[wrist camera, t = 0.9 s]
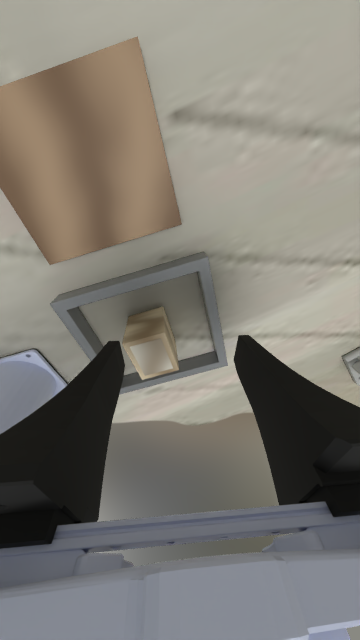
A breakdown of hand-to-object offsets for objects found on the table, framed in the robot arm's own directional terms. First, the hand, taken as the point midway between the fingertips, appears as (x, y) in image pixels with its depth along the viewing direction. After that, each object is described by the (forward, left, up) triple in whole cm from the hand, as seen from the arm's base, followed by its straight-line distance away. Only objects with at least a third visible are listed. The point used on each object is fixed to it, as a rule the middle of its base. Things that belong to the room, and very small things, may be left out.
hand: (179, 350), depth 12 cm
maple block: (-3, -4, -10) cm, 12 cm away
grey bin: (-3, -4, -10) cm, 11 cm away
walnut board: (-3, +11, -10) cm, 15 cm away
